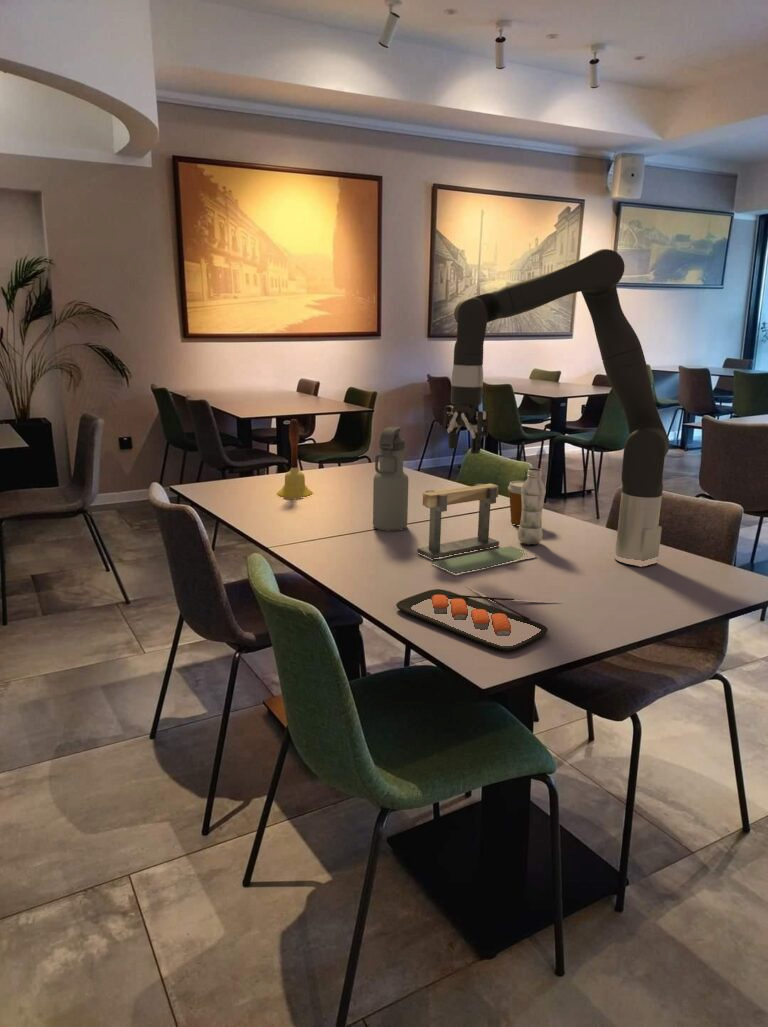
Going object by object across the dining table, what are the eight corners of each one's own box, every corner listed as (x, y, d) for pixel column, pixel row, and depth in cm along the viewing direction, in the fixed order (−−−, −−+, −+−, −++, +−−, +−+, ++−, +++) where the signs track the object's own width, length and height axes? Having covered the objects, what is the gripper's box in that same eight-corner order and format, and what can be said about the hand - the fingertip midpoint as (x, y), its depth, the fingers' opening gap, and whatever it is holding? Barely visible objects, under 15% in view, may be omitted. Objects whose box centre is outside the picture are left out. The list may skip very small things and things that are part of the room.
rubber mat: (536, 557, 179) (536, 555, 179) (455, 575, 165) (455, 573, 165) (511, 548, 186) (511, 545, 186) (431, 564, 172) (431, 562, 172)
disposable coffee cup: (524, 530, 203) (527, 489, 200) (498, 523, 210) (501, 483, 207) (545, 525, 209) (548, 484, 205) (520, 518, 216) (522, 479, 213)
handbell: (279, 489, 247) (278, 416, 240) (315, 490, 246) (315, 417, 240) (273, 498, 235) (271, 421, 228) (310, 499, 234) (310, 422, 228)
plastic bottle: (542, 541, 193) (548, 468, 188) (540, 548, 187) (546, 472, 182) (518, 539, 195) (523, 466, 190) (515, 546, 188) (520, 471, 183)
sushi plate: (389, 612, 145) (389, 595, 144) (481, 578, 165) (482, 562, 164) (507, 661, 125) (508, 641, 124) (596, 615, 145) (597, 598, 144)
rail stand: (499, 546, 187) (502, 486, 183) (431, 560, 175) (434, 496, 171) (483, 541, 192) (486, 482, 188) (417, 554, 180) (419, 491, 176)
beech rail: (498, 497, 185) (498, 485, 184) (430, 507, 173) (430, 495, 173) (490, 494, 188) (490, 483, 187) (422, 505, 176) (422, 493, 175)
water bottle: (400, 533, 198) (403, 432, 190) (367, 529, 201) (368, 429, 193) (411, 524, 207) (414, 427, 200) (379, 520, 210) (381, 425, 203)
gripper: (498, 386, 169) (494, 454, 174) (460, 381, 181) (457, 445, 185) (474, 387, 165) (471, 456, 170) (436, 382, 177) (434, 447, 181)
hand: (463, 450), depth 177 cm, fingers open, 8 cm apart
